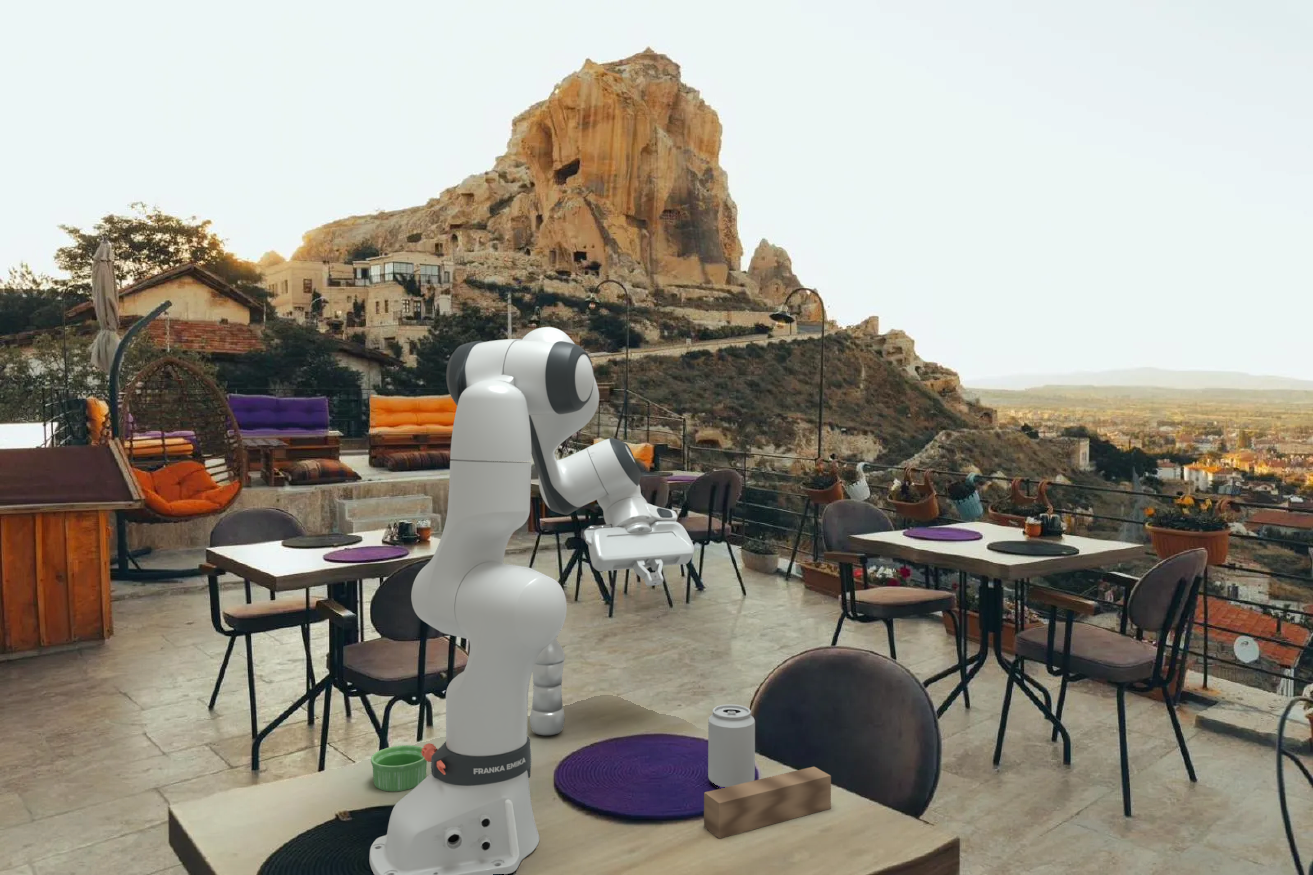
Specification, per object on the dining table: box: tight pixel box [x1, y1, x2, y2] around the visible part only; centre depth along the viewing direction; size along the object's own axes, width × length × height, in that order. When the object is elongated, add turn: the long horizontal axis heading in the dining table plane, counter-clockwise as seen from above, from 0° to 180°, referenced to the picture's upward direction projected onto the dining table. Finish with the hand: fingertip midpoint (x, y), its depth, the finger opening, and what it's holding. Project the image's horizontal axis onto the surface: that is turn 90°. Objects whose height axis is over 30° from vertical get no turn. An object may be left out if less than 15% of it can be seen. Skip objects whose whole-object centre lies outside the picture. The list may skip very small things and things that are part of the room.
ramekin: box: [370, 744, 428, 792], centre depth 141 cm, size 9×9×4 cm
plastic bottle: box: [529, 635, 566, 736], centre depth 162 cm, size 6×7×20 cm
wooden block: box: [703, 766, 832, 840], centre depth 128 cm, size 20×4×5 cm, turn 119°
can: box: [707, 703, 756, 787], centre depth 140 cm, size 8×8×12 cm
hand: (655, 583), depth 156 cm, fingers closed
